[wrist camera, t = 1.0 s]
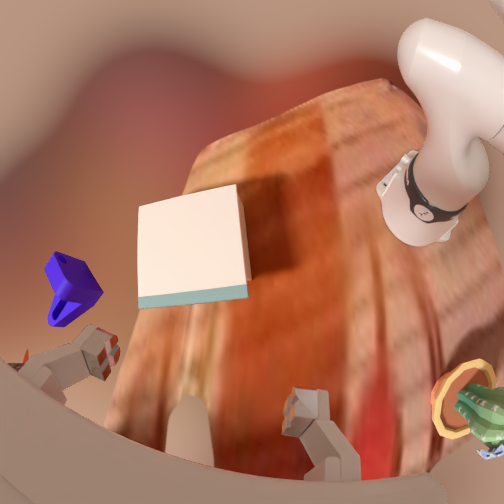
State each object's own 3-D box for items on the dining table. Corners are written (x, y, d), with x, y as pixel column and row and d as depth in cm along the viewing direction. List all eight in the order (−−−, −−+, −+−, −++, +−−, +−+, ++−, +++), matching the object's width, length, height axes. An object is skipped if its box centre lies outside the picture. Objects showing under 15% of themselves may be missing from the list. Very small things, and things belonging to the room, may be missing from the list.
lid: (141, 208, 49) (138, 206, 48) (237, 186, 46) (235, 183, 45) (142, 309, 44) (138, 308, 43) (249, 297, 41) (247, 297, 40)
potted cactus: (402, 403, 39) (467, 454, 15) (451, 339, 40) (537, 343, 16) (441, 438, 34) (503, 486, 11) (486, 379, 35) (562, 395, 11)
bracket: (84, 261, 59) (51, 249, 48) (103, 292, 56) (68, 284, 44) (52, 309, 58) (20, 304, 46) (69, 340, 54) (34, 339, 43)
